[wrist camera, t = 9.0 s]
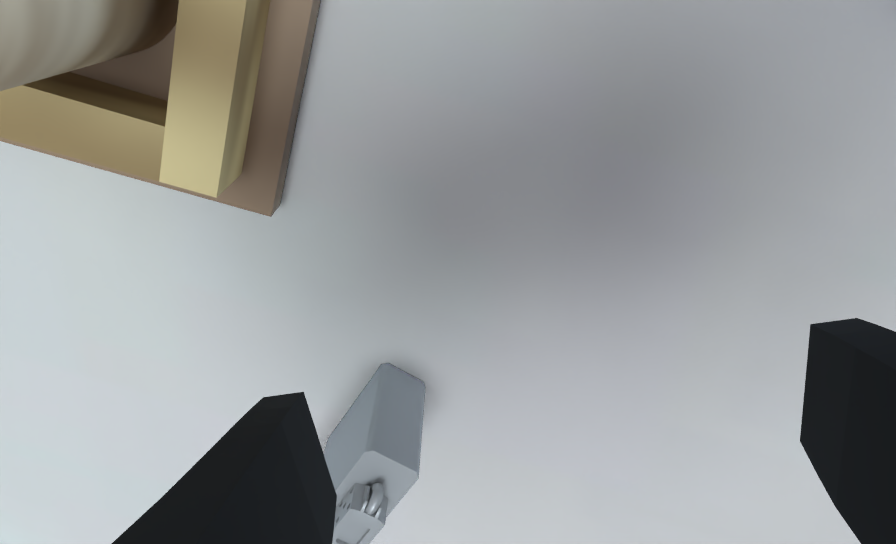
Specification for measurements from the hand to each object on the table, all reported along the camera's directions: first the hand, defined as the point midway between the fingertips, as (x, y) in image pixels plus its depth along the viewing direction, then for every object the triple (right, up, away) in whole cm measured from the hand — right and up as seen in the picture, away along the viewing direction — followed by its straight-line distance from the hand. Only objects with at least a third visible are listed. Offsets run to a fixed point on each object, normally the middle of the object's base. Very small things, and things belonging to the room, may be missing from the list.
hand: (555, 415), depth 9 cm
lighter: (-5, -4, +14) cm, 15 cm away
